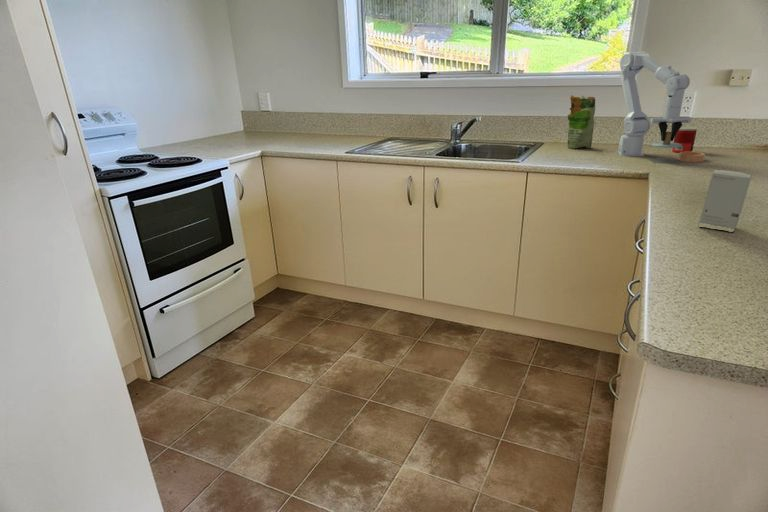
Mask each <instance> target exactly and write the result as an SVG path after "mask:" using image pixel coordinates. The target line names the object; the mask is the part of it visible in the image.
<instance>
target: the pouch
mask: <svg viewBox="0 0 768 512" xmlns="http://www.w3.org/2000/svg"><path fill="white" fill-rule="evenodd" d="M569 98H570V108H569V110H570V113H569V114H567V120H568V133H567V148H568V149H571V150H572V149H574V150H575V149H590V148H592V143H593V134H594V129H595V120H594V118H595V117H594V116H595V114H596V97H594V96H587V97H586V96H584V95H581V97H580V96H575V95H573V94H572V95H570V96H569Z"/></svg>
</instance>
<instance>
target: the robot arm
mask: <svg viewBox="0 0 768 512" xmlns="http://www.w3.org/2000/svg"><path fill="white" fill-rule="evenodd" d="M619 66H620V81H621V86H622V91H623V96H624V101H625V107H626V112H627V115H626V116H625V118H624V119H623V132H624V134H623V135H621V136H620V139H619V144H618V151H617V153H618V155H620V156H621V157H645V154H643V147H644V141H645V136H646V135H647V133H648V132H649V131H650V129H651V124H657V125H658V127H659V131H660V140H661V142H663V141H665V135H666V132H667V130H668V126H669V125H668V124H671V131H670V132H672V136H671V142H674V137H675V135H676V133H677V132H678V130H679V129H680V128H681V127H683V124H685V123H686V124H691V123H692V119H693V118H692V117H684V116H683V117H680V115H681V111H682V106H683V102H684V96H685V90H686V89H687V88H688V87H689V86H690V83H691V81H690V80H691V79H690V77H689V76H688V75H687V74H681V73H680V72H679V71H676V70H674V69H673V68H672V66H671V65H670V64H669V65H662V64H660V63H659V61H657V60H655V59H654V58H653V57H652V56H651V54H650V53H648V52H647V51H637V52H635V51H634V52H633V51H632V52H629V51H627V52H625V53H623V54H622V56H621V58H620V60H619ZM645 68H646V69H647V70H649V71H651V72H652V73H654V75H655V78H656V80H658V81H660V82H661V83H662V84H664V85H665V89H666V101H665V107H664V110H663V111H664V112H663V116H662V117H651V118H650V120H649V119H648V116H647V115H648V114H646V113H645V112H643V111H642V106H641V101H640V96H639V95H640V94H639V91H638V86H637V80H636V77H637V75H638V74H639V73H640V72H641V71H642V69H645Z"/></svg>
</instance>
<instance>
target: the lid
mask: <svg viewBox="0 0 768 512" xmlns="http://www.w3.org/2000/svg"><path fill="white" fill-rule="evenodd" d="M671 136H672V132H671V131H666V135H665V141H661V142H652V143H651V145H650V146H651V147H655V148H663V149H665V148H666V149H670V148H671V149H672V148H677V147H681V146H682V144H678V143H674V142H672V141H671Z"/></svg>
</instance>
